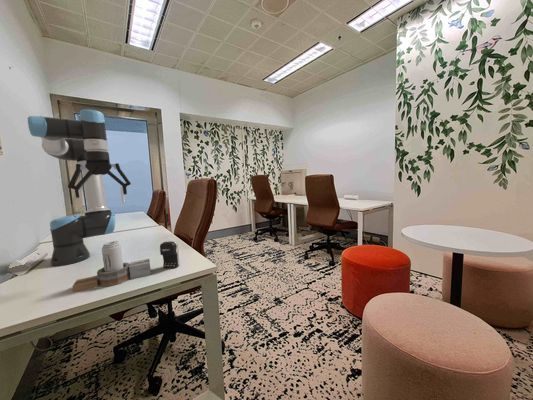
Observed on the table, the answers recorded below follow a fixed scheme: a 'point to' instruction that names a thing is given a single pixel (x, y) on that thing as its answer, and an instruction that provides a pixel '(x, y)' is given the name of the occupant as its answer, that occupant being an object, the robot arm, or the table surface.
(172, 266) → the battery
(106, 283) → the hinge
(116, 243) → the energy drink can
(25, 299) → the table surface
